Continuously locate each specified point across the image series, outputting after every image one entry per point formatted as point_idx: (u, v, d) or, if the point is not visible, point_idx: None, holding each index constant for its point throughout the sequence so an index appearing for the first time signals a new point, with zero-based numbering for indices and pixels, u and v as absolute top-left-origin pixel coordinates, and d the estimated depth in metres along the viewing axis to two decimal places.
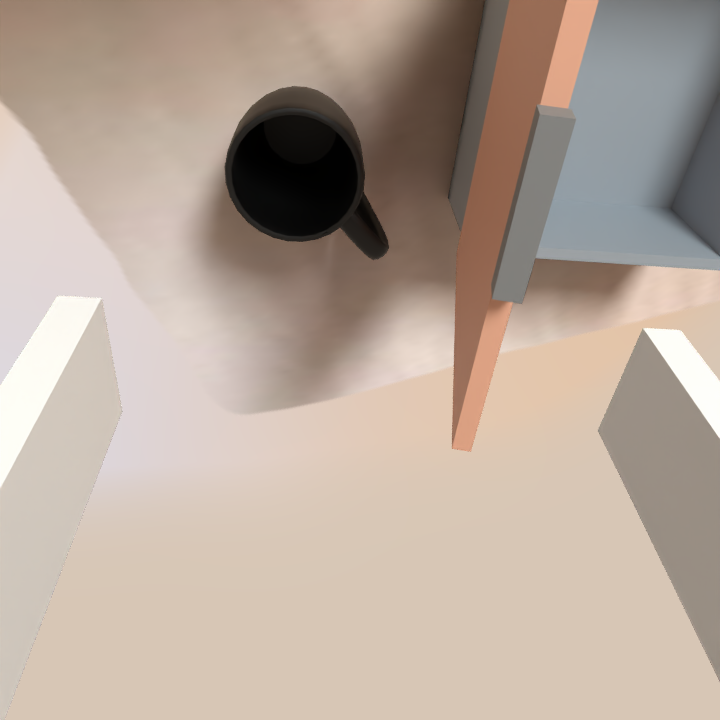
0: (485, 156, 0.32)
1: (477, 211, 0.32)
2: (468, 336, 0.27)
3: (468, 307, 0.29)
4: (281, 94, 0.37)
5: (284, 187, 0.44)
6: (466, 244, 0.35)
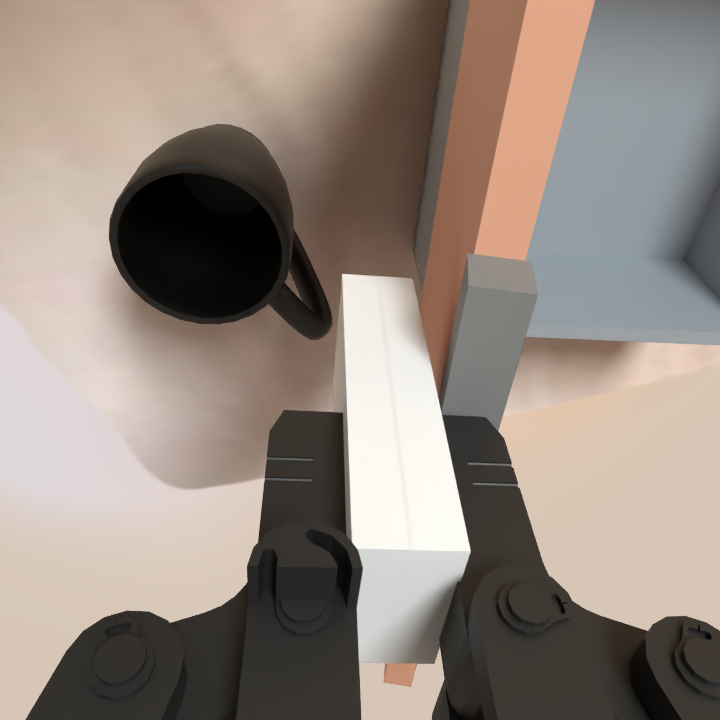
0: (437, 234, 0.24)
1: (427, 310, 0.23)
2: None
3: None
4: (181, 142, 0.29)
5: (206, 247, 0.36)
6: None
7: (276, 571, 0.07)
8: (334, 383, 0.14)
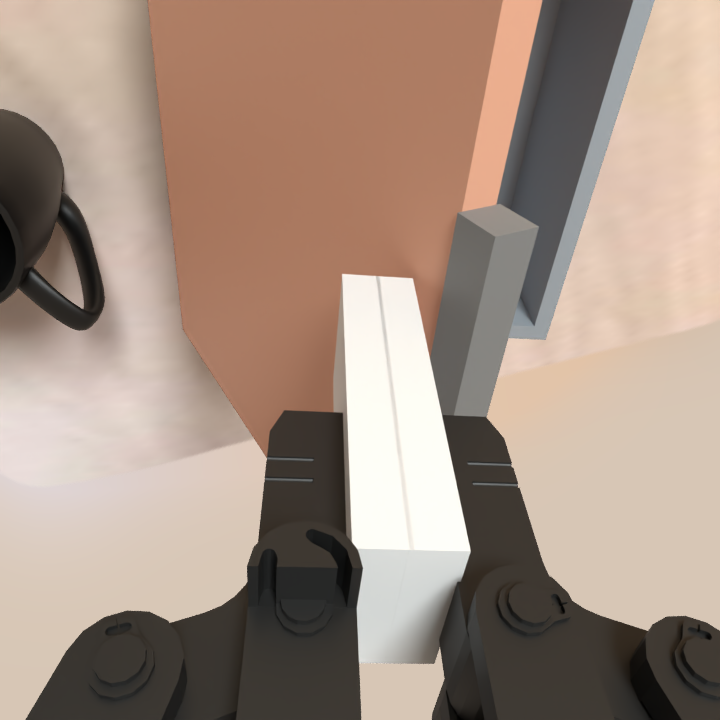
0: (212, 220, 0.23)
1: (236, 297, 0.23)
2: None
3: None
4: None
5: None
6: (219, 331, 0.26)
7: (276, 571, 0.07)
8: (334, 383, 0.14)
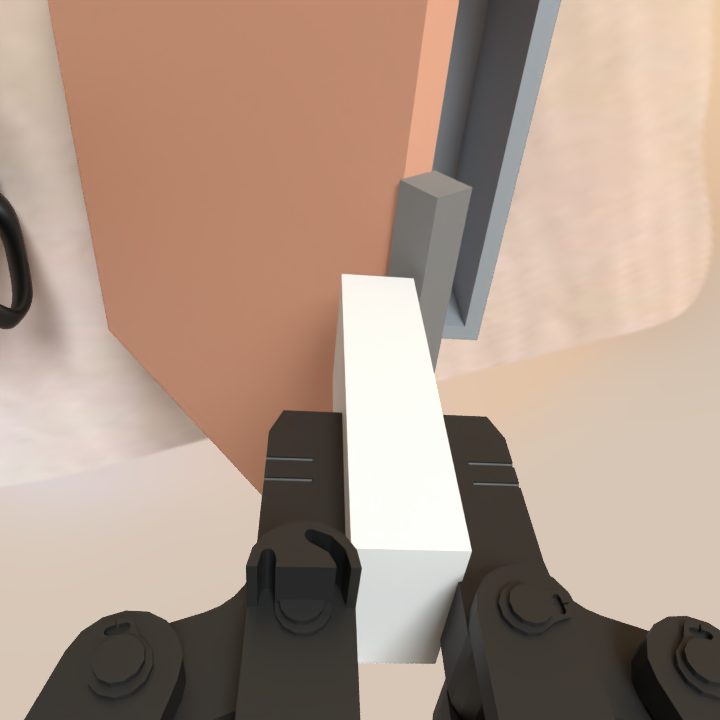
0: (137, 214, 0.23)
1: (169, 287, 0.23)
2: None
3: (253, 415, 0.22)
4: None
5: None
6: (152, 325, 0.26)
7: (275, 571, 0.07)
8: (334, 383, 0.14)
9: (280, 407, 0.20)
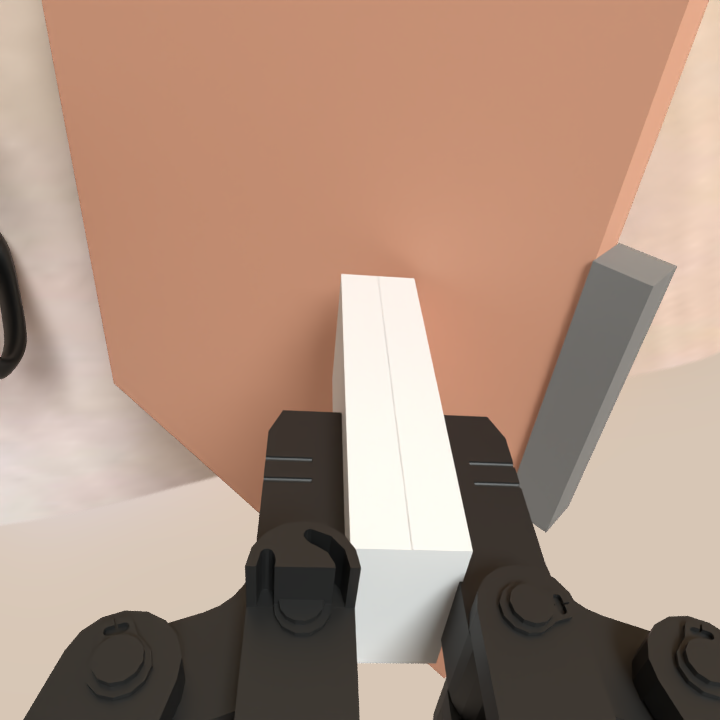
0: (166, 266, 0.20)
1: (208, 348, 0.20)
2: None
3: None
4: None
5: None
6: (178, 384, 0.23)
7: (274, 571, 0.07)
8: (333, 383, 0.14)
9: None
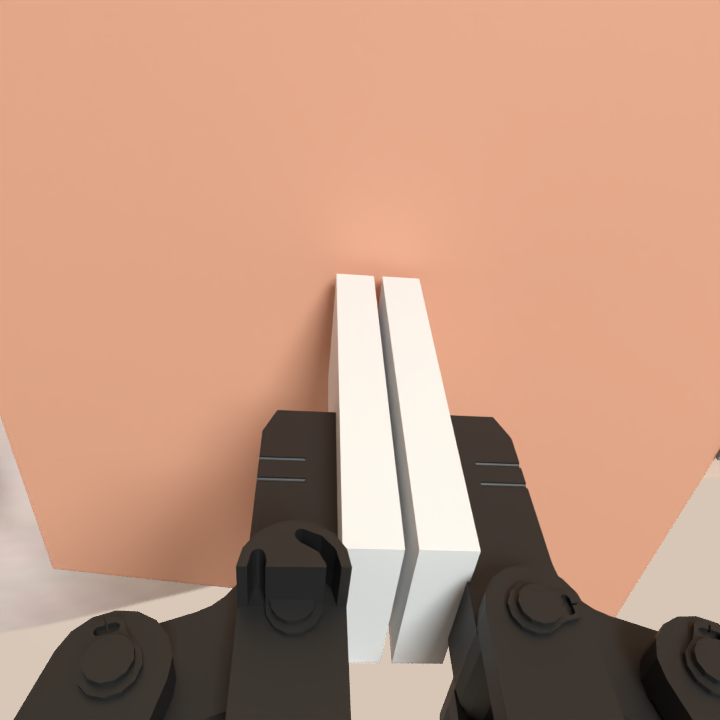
0: (199, 395, 0.15)
1: None
2: None
3: None
4: None
5: None
6: (209, 522, 0.18)
7: (265, 572, 0.07)
8: (329, 383, 0.14)
9: None
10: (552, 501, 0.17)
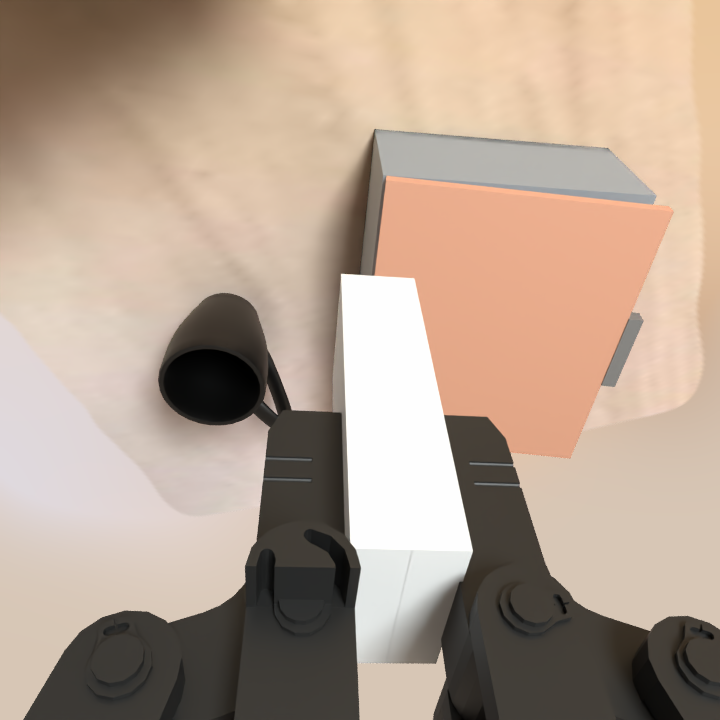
0: (433, 365, 0.48)
1: (454, 389, 0.49)
2: (544, 422, 0.50)
3: (515, 419, 0.50)
4: (201, 324, 0.49)
5: (213, 369, 0.56)
6: None
7: (274, 571, 0.07)
8: (333, 383, 0.14)
9: (540, 407, 0.49)
10: (548, 402, 0.49)
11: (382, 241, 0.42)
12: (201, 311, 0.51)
